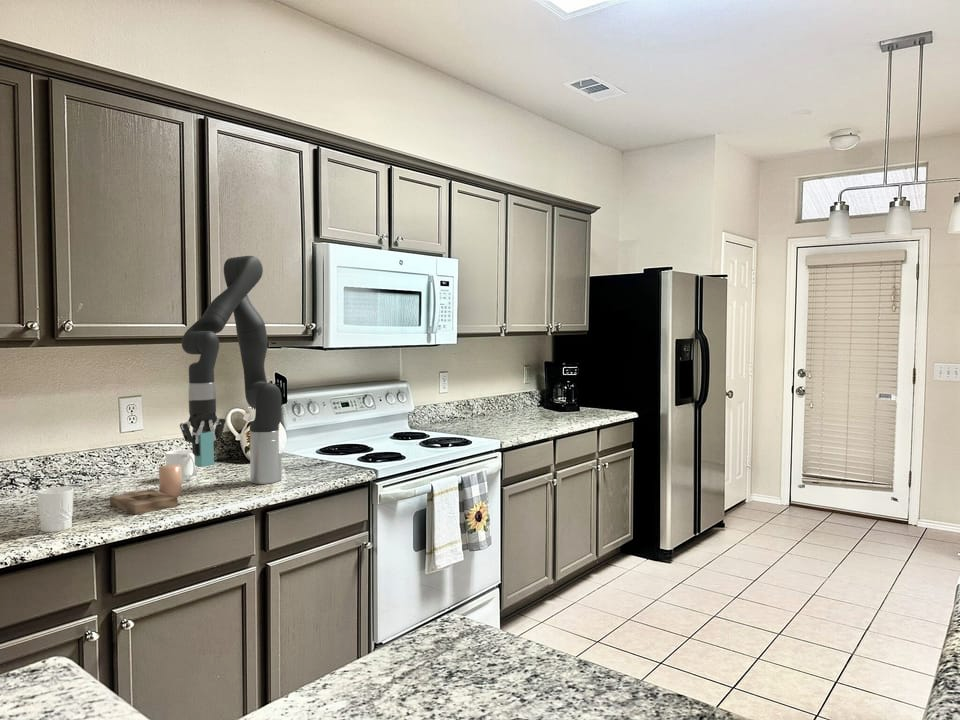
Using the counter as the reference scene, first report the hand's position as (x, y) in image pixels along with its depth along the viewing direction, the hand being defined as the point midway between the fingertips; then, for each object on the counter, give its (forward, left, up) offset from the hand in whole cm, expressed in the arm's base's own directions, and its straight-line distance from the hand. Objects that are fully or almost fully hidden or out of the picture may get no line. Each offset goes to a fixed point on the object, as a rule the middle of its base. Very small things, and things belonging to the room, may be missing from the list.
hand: (204, 454), depth 207 cm
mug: (-10, -31, -14) cm, 36 cm away
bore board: (+15, -6, -14) cm, 21 cm away
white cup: (+40, 0, -14) cm, 43 cm away
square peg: (0, 0, -3) cm, 3 cm away
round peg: (+4, -12, -14) cm, 19 cm away
